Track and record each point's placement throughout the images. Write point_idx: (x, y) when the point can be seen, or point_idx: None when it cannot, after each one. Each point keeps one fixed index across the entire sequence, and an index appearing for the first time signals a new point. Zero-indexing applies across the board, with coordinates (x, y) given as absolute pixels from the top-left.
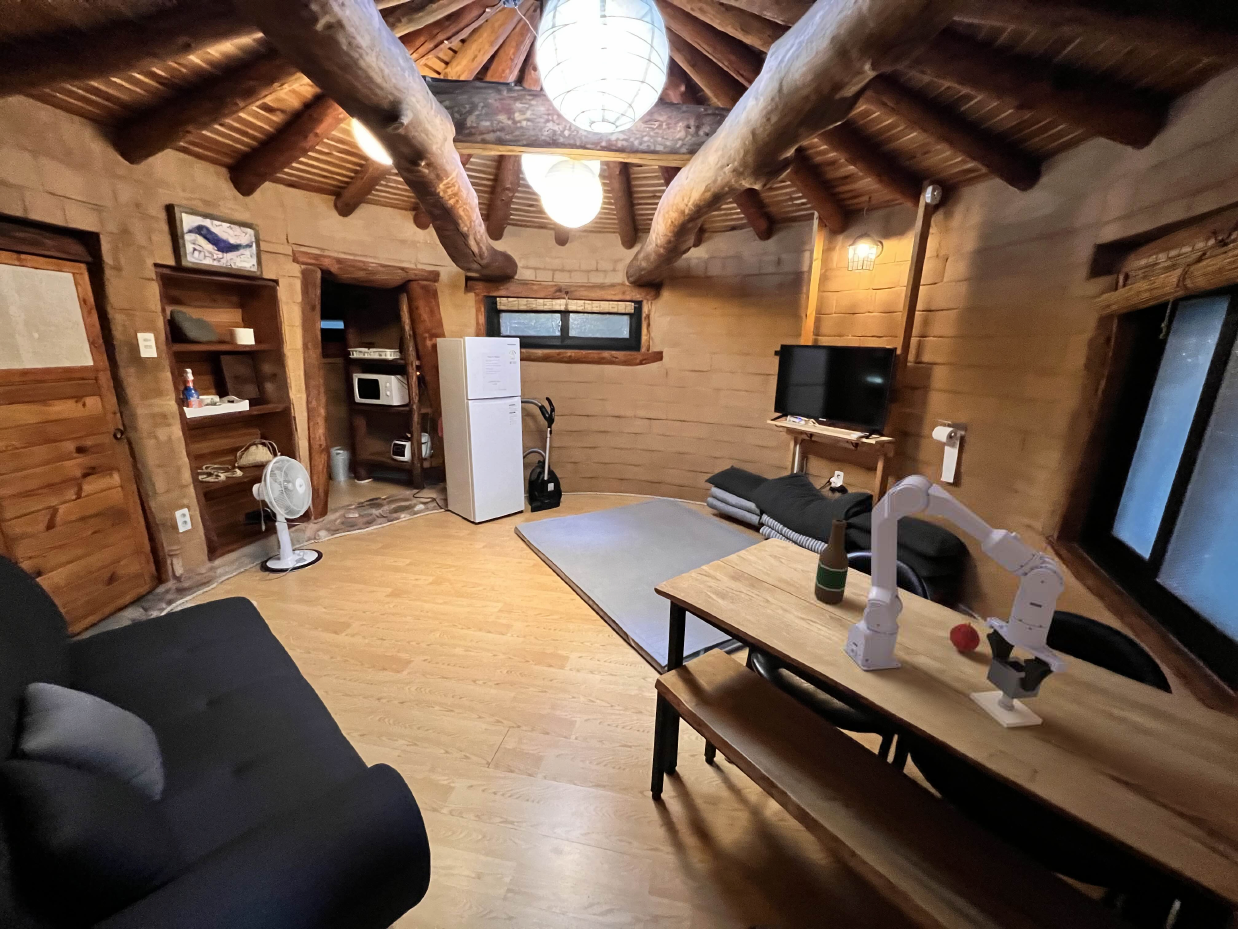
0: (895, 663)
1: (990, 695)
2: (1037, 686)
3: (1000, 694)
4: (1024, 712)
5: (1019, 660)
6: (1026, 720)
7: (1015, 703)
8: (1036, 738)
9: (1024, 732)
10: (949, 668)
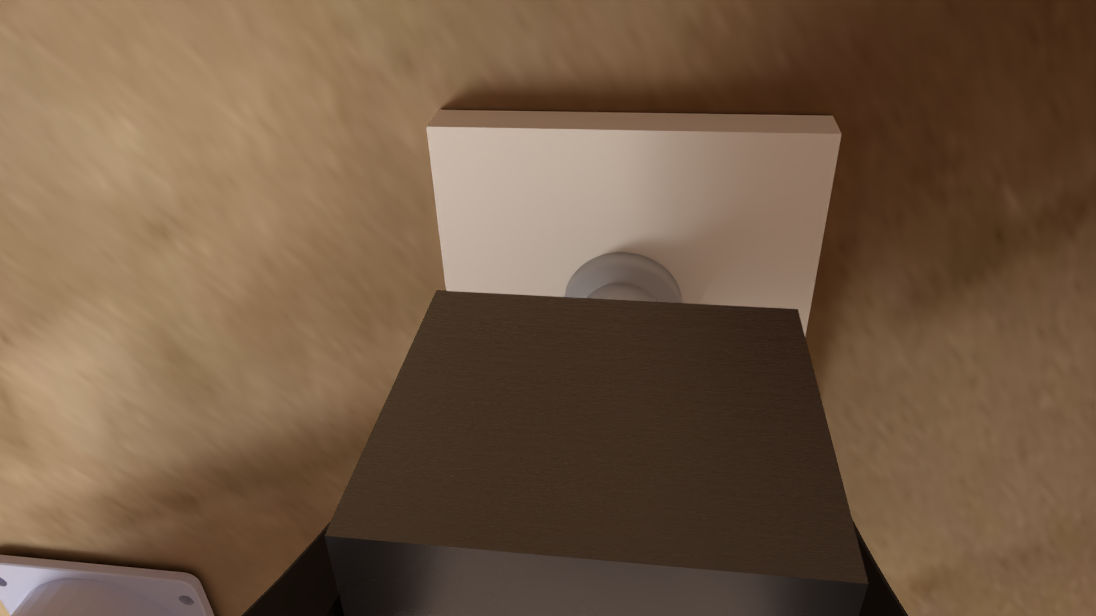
0: (174, 599)
1: None
2: (872, 561)
3: (482, 218)
4: (721, 213)
5: (437, 582)
6: (804, 285)
7: (605, 189)
8: (936, 305)
9: (858, 336)
10: (132, 290)
